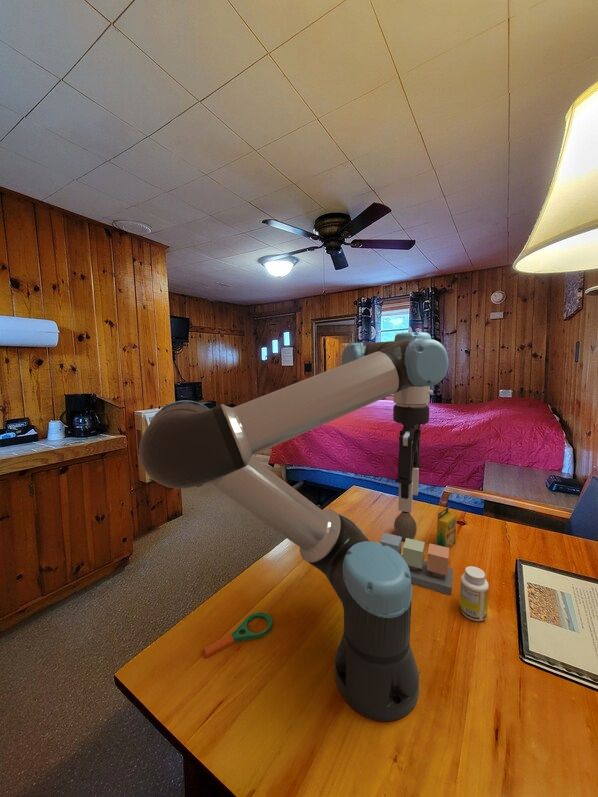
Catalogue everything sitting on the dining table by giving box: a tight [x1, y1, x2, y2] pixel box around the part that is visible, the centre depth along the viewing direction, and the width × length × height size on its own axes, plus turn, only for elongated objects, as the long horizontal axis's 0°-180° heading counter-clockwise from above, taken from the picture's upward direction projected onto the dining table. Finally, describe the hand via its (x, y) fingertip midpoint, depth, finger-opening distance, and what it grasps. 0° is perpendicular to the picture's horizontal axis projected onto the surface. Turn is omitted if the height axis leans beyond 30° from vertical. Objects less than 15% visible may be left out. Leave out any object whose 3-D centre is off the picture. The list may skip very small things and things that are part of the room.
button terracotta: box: [426, 543, 450, 576], centre depth 83 cm, size 5×5×5 cm
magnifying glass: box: [202, 611, 273, 659], centre depth 69 cm, size 15×6×2 cm, turn 125°
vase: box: [393, 511, 418, 542], centre depth 103 cm, size 7×7×9 cm
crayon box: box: [435, 506, 458, 550], centre depth 98 cm, size 7×3×12 cm, turn 131°
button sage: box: [402, 538, 426, 569], centre depth 86 cm, size 5×5×5 cm
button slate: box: [379, 532, 403, 555], centre depth 89 cm, size 5×5×5 cm
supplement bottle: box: [459, 565, 490, 622], centre depth 73 cm, size 6×6×10 cm
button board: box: [401, 554, 454, 596], centre depth 86 cm, size 8×19×6 cm, turn 62°
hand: (408, 501), depth 74 cm, fingers open, 9 cm apart
